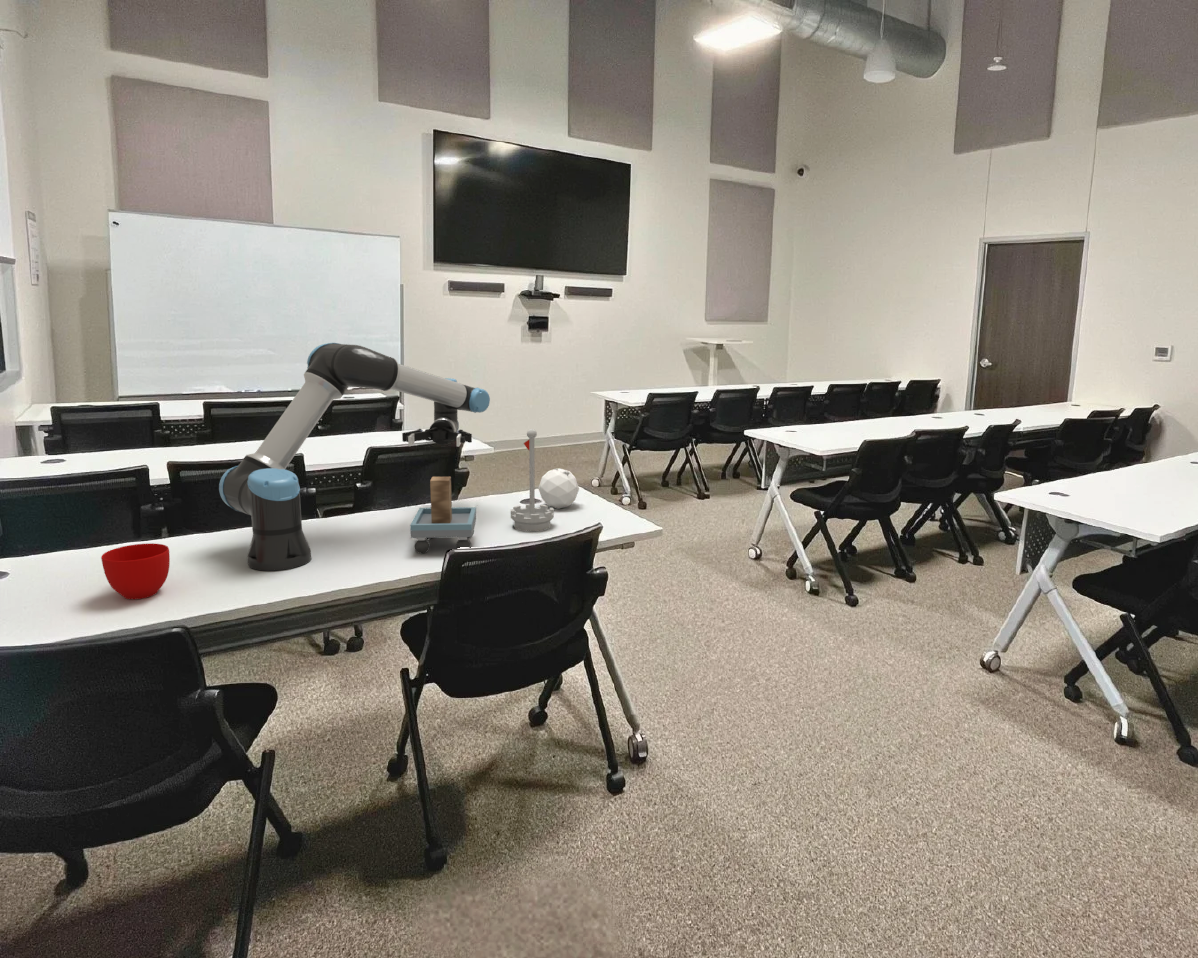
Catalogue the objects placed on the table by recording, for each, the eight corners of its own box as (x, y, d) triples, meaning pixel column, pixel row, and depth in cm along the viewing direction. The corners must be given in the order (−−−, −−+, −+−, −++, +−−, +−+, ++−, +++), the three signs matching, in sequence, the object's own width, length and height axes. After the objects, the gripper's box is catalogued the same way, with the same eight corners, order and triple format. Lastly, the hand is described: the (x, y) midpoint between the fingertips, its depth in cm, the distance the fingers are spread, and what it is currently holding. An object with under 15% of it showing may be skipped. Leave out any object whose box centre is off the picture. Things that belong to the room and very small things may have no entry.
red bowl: (160, 575, 181) (156, 536, 179) (180, 595, 169) (175, 553, 167) (97, 588, 172) (92, 546, 170) (113, 609, 160) (108, 565, 158)
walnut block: (431, 523, 204) (430, 480, 201) (433, 518, 208) (432, 476, 206) (450, 523, 204) (448, 480, 201) (452, 518, 209) (450, 476, 206)
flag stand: (561, 528, 226) (562, 430, 219) (523, 534, 219) (523, 433, 212) (540, 518, 236) (539, 424, 230) (503, 524, 229) (502, 427, 223)
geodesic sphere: (595, 490, 250) (575, 455, 252) (574, 498, 239) (552, 462, 240) (567, 510, 258) (547, 477, 259) (544, 519, 246) (523, 484, 248)
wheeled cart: (411, 555, 198) (410, 525, 196) (420, 536, 216) (419, 507, 214) (472, 554, 200) (471, 524, 198) (476, 535, 217) (476, 507, 215)
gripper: (482, 443, 236) (477, 455, 215) (402, 442, 234) (389, 454, 213) (482, 419, 234) (477, 429, 214) (401, 418, 232) (388, 428, 212)
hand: (433, 441), depth 213 cm, fingers open, 13 cm apart
